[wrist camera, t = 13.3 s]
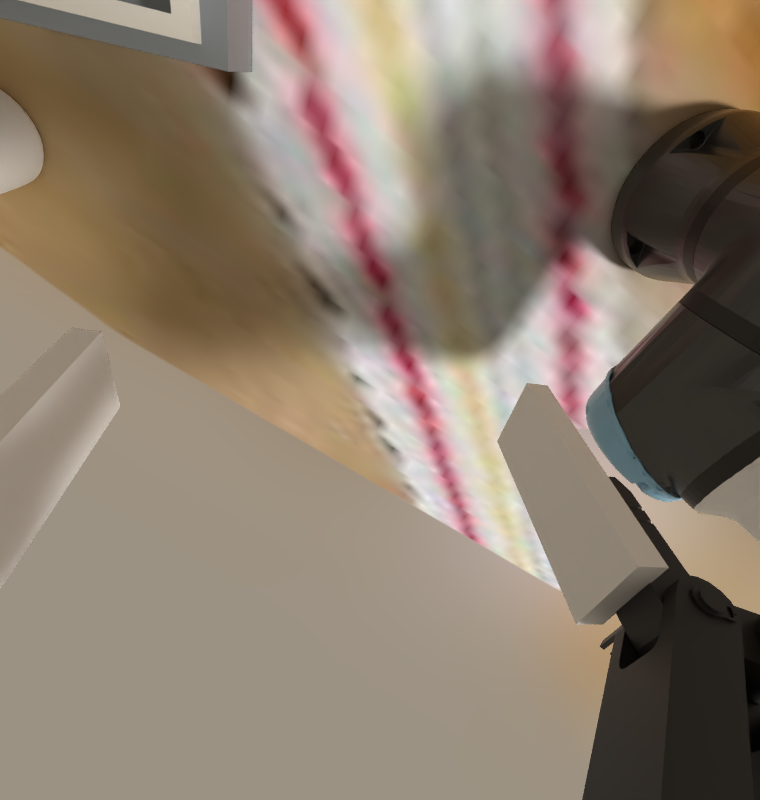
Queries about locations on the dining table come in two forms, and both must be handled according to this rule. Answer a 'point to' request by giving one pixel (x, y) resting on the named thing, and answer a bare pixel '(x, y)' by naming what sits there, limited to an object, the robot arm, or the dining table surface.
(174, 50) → the tray
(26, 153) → the milk bottle
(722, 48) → the dining table surface
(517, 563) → the dining table surface
